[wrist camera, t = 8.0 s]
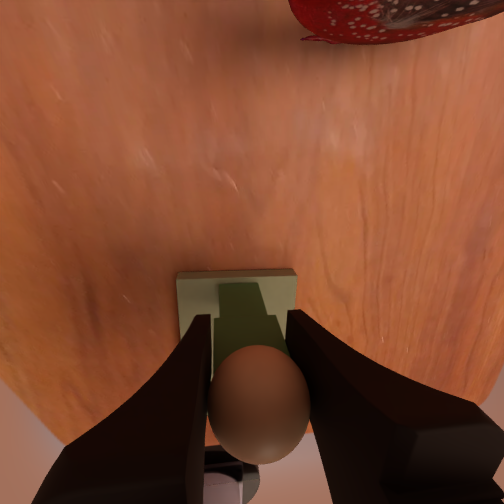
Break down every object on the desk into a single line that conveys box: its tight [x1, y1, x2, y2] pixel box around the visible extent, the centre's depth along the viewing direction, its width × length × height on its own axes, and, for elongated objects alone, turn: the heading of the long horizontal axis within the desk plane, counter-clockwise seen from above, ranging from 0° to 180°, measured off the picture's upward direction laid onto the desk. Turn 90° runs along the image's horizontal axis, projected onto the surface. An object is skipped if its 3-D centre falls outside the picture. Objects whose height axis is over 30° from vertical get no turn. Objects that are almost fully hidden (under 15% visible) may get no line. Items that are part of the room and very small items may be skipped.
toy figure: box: [207, 283, 311, 465], centre depth 12 cm, size 10×4×4 cm
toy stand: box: [176, 269, 297, 415], centre depth 20 cm, size 12×8×1 cm, turn 179°
